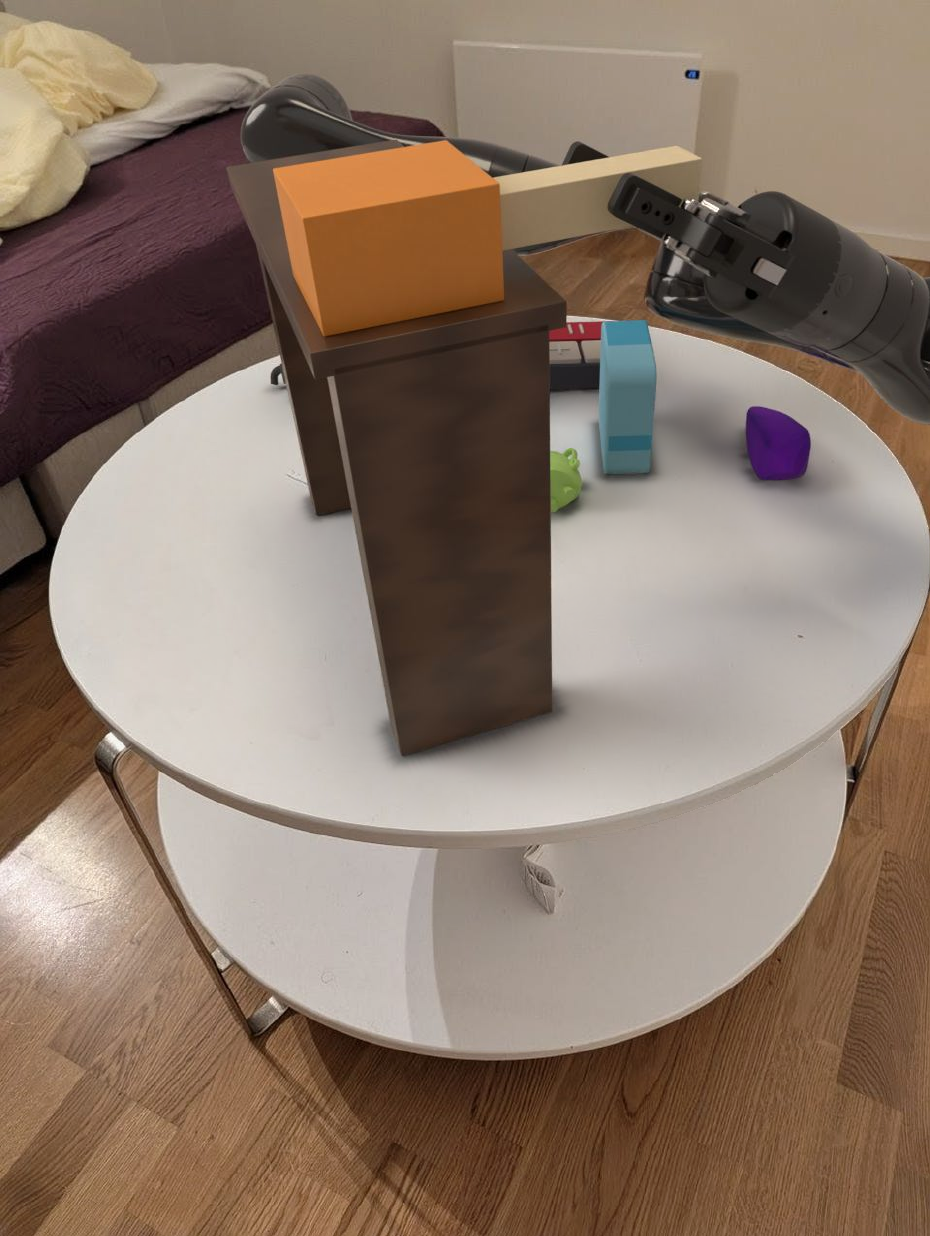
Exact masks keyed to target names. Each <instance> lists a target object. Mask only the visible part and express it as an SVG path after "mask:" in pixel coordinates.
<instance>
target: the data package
mask: <svg viewBox="0 0 930 1236" xmlns="http://www.w3.org/2000/svg"><path fill="white" fill-rule="evenodd" d="M605 321H606V322H603V323H602V326H601V353H600V386H599V388H598V389H599V391H598V428H599V438H600V450H601V458H602V468H603V473H604V474H605V475H611V474H612V475H613V474H614V475H617V474H618V475H619V474H647V473H649V472H650V469H651V462H652V461H651V460H652V448H653V433H654V421H655V407H656V394H657V393H656V392H657V377H658V376H657V361H656V358H655V357H656V356H655V352H654V349H653V348H654V347H653V343H652V337H651V334H650V328H649V323H648V321H647V320H646V319H633V320H632V319H631V320H605Z"/></svg>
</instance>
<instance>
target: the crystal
mask: <svg viewBox="0 0 930 1236" xmlns="http://www.w3.org/2000/svg"><path fill="white" fill-rule="evenodd" d="M745 440H746V451H747V455H748V459H749V463H750V466H751V468H752V470H753V472H754V473H755V475H756V476H757V478H758V479H759V480H763V481H790V480H795V479H799V478H802V477H803V476H805V474H806V472H807V469H808V467H809V460H810V454H811V448H812V447H811V446H812V441H811V434H810V432H809V430H808V429H807V427H805V426H804V425H803V424H801V423H799V422H798V421H797V420H795V419H794V418H793V417H792V416H790V415H788V414H786V413H784V412H782V411H779V410H777V409H773V408H769V407H766V406H760V405H753V406H750V407H749V408H747V410H746V417H745Z"/></svg>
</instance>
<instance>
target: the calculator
mask: <svg viewBox="0 0 930 1236" xmlns="http://www.w3.org/2000/svg"><path fill="white" fill-rule="evenodd" d="M606 321H607V320H602V321H601V320H598V321H597V320H595V321H567V326H566V328H561V329H556V330H551V331H549V351H550V390H567V389H569V390H570V389H596V388H597V389H599V386H600V353H601V326H602V323H603V322H606Z"/></svg>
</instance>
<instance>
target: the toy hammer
mask: <svg viewBox="0 0 930 1236" xmlns="http://www.w3.org/2000/svg"><path fill="white" fill-rule="evenodd" d="M702 166H703V158H702V157H701V156H699V155H696V154H695V153H692V152H691V151H688V150H686V149H685V148H683V147H680V146H679V145H673V146H666V147H661V148H655V149H654V148H653V149H649V150H644V151H638V152H633V153H627V154H620V155H615V156H609V158H603V159H597V160H591V161H586V162H580V163H574V164H568V165H563V166H557V167H551V168H545V169H540V170H534V171H528V172H523V173H517V174H511V175H505V176H500V177H494V178H492V177H491V176H490V175H488V174H487V173H486V172H485V171H483V170H482V169H481V168H480V167H479V166H477V165H476V164H475V163H474V162H472V161H471V160H470V159H469V158H468V157H466V156H465V155H464V154H463V153H461V152H460V151H459V150H458V149H457V148H455V147H454V146H453V145H452V144H450V143H449V142H448V141H447V140H444V141H438V142H432V143H426V144H420V145H414V146H408V147H402V148H395V149H389V150H383V151H377V152H371V153H365V154H359V155H353V156H347V157H341V158H335V159H329V160H323V161H316V162H310V163H304V164H298V165H292V166H286V167H280V168H274V169H273V173H274V178H275V183H276V188H277V194H278V199H279V204H280V209H281V214H282V219H283V225H284V230H285V235H286V240H287V245H288V250H289V256H290V261H291V266H292V271H293V276H294V278H295V280H296V282H297V284H298V286H299V288H300V290H301V292H302V294H303V296H304V298H305V300H306V302H307V304H308V306H309V308H310V310H311V312H312V314H313V316H314V318H315V320H316V322H317V324H318V326H319V328H320V330H321V332H322V334H323V336H324V337H325V336H330V335H335V334H340V333H345V332H350V331H355V330H360V329H365V328H370V327H375V326H380V325H385V324H390V323H395V322H400V321H405V320H410V319H415V318H420V317H425V316H430V315H435V314H440V313H445V312H450V311H455V310H459V309H464V308H469V307H474V306H479V305H484V304H489V303H494V302H499V301H504V278H503V254H502V251H504V250H509V249H515V248H520V247H525V246H530V245H536V244H541V243H546V242H551V241H557V240H562V239H567V238H572V237H578V236H583V235H588V234H593V233H599V232H604V231H609V230H614V229H620V228H625V227H630V226H633V225H631V224H629V223H627V222H625V221H623V220H620V219H618V218H616V217H615V216H613V215H612V214H611V213H610V212H609V211H608V202H609V200H610V198H611V196H612V194H613V192H614V190H615V188H616V186H617V184H618V182H619V180H620V178H621V177H622V175H624V174H625V173H632V174H634V175H636V176H638V177H640V178H642V179H644V180H646V181H648V182H650V183H652V184H654V185H656V186H658V187H660V188H662V189H664V190H666V191H668V192H670V193H672V194H673V195H675V196H677V197H679V198H681V199H682V201H683V200H684V198H685V199H688V200H691V198H692V199H694V200H696V201H697V202H698V199H699V192H700V187H701V179H702V176H701V175H702ZM681 203H682V202H681ZM680 205H681V204H680ZM679 207H680V206H679Z"/></svg>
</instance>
